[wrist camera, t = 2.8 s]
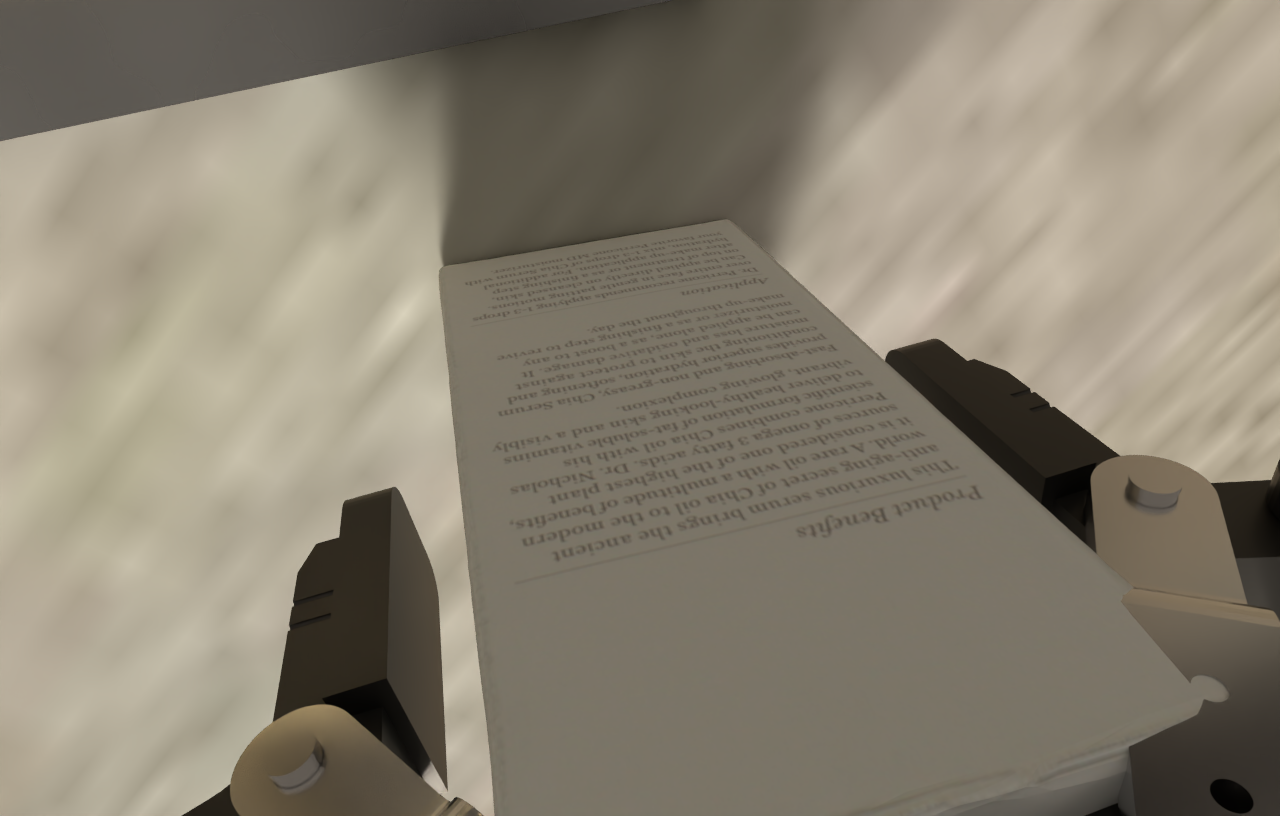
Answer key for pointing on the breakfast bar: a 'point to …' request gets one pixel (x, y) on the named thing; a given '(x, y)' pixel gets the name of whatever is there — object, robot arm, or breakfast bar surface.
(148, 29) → the picture frame
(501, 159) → the breakfast bar surface
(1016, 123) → the breakfast bar surface
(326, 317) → the breakfast bar surface
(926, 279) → the breakfast bar surface
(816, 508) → the skincare box
